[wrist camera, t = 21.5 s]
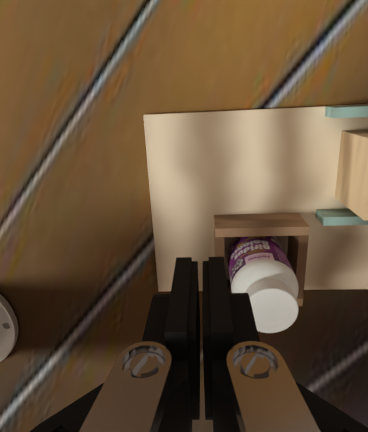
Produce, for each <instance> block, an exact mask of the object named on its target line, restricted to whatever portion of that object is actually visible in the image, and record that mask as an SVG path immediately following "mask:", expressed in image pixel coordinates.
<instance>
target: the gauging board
mask: <svg viewBox="0 0 368 432" xmlns="http://www.w3.org/2000/svg"><path fill="white" fill-rule="evenodd" d="M143 117H144V128H145V140H146V152H147V163H148V175H149V187H150V198H151V210H152V222H153V233H154V245H155V257H156V269H157V280H158V292H160V291H171V288H172V281H173V275H174V269H175V262H176V257H192V261H198V281H199V291H203V261H209V257H215V252H214V215H228V214H266V213H299V214H300V215H301V216H302V218H303V219H304V220H305V221H306V223H307V224H308V225H309V226H310V227H309V239H308V250H307V261H306V273H305V284H304V290H327V289H368V220H363V219H361V218H360V217H359V216H358V215H356V214H355V213H354V212H353V211H351V210H350V209H349V208H348V207H346V206H345V205H344V204H343V203H341V202H340V201H339V200H338V199H336V198H335V189H336V180H337V171H338V161H339V152H340V143H341V133H342V131H347V130H368V104H358V105H337V106H315V107H294V108H272V109H251V110H229V111H208V112H186V113H165V114H145V115H143ZM275 237H276V238H277V240H278V241H279V243H280V244H281V246H282V248H283V250H284V253H285V255H286V257H287V250H288V236H275ZM234 238H235V237H224V244H225V270H226V277H227V280H230V275H229V267H228V257H227V253H228V248H229V245H230V244H231V242H232V240H233V239H234Z"/></svg>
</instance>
